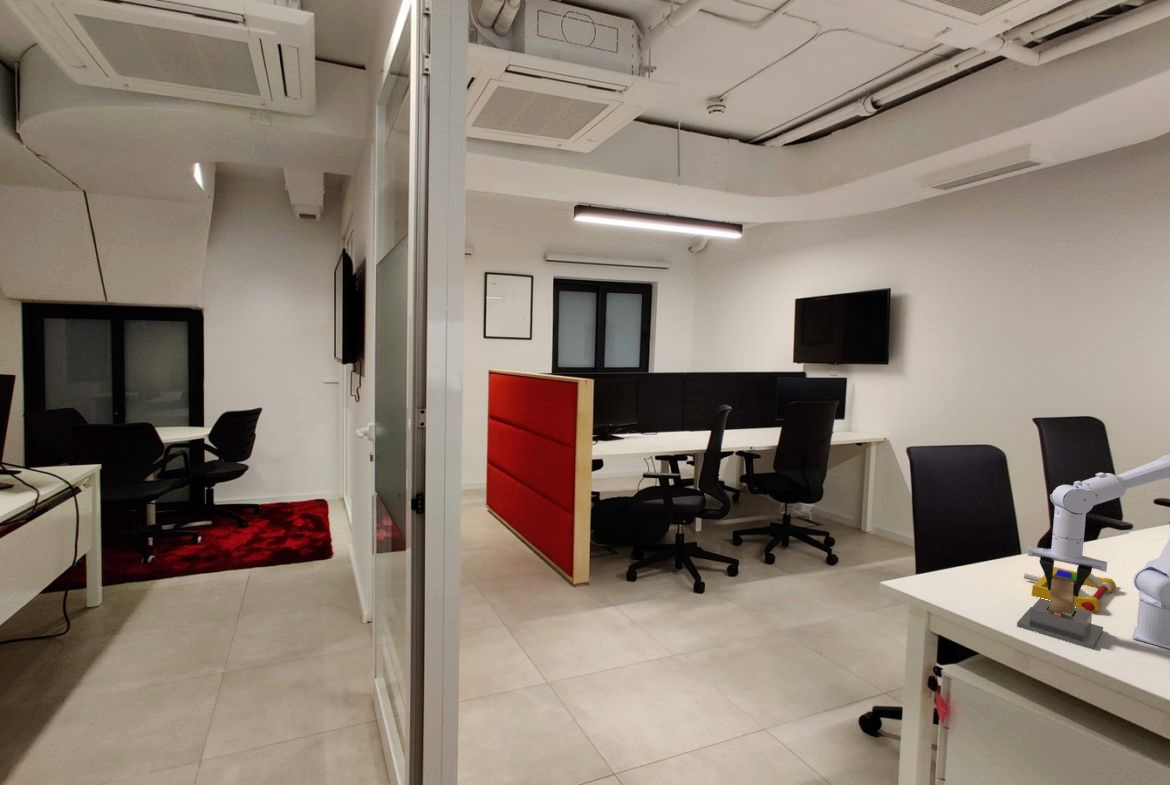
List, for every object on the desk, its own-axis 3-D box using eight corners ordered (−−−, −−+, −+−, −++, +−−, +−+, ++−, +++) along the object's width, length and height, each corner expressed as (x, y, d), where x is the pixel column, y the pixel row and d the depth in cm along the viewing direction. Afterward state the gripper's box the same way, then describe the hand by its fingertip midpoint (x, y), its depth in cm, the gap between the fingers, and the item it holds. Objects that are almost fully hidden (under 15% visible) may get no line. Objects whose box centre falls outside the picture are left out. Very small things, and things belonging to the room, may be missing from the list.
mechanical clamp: (1120, 568, 167) (1099, 593, 148) (1117, 589, 168) (1096, 617, 148) (1040, 550, 181) (1012, 571, 162) (1039, 570, 182) (1010, 593, 162)
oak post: (1074, 612, 140) (1077, 579, 139) (1070, 617, 137) (1073, 583, 136) (1052, 606, 143) (1054, 574, 142) (1048, 610, 140) (1051, 578, 139)
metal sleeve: (1102, 631, 139) (1104, 610, 139) (1093, 649, 130) (1095, 627, 130) (1030, 610, 150) (1032, 591, 150) (1016, 626, 141) (1018, 605, 140)
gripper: (1109, 540, 136) (1104, 597, 137) (1032, 526, 146) (1027, 579, 147) (1108, 546, 131) (1102, 605, 132) (1028, 531, 141) (1023, 586, 142)
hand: (1063, 592), depth 139 cm, fingers closed on oak post, 4 cm apart
